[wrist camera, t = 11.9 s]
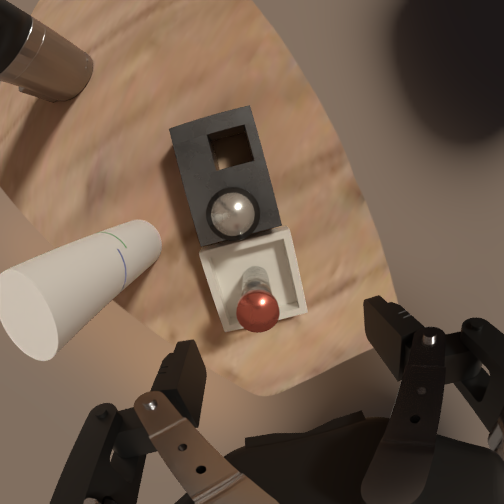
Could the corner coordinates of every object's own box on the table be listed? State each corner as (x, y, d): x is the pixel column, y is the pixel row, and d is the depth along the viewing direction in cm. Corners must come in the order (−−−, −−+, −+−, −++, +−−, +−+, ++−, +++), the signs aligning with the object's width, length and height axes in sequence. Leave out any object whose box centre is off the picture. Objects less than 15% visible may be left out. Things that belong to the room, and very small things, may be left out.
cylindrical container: (130, 274, 39) (26, 366, 15) (110, 231, 38) (-15, 287, 13) (169, 257, 39) (75, 352, 14) (149, 211, 37) (24, 253, 13)
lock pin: (244, 296, 39) (242, 336, 28) (236, 267, 38) (231, 299, 27) (274, 288, 39) (283, 326, 28) (267, 259, 38) (274, 289, 27)
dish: (226, 322, 41) (224, 332, 38) (202, 247, 38) (198, 252, 36) (303, 303, 41) (307, 312, 38) (286, 225, 38) (289, 229, 35)
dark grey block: (206, 238, 38) (196, 252, 30) (178, 135, 35) (161, 123, 27) (277, 220, 38) (285, 229, 30) (249, 115, 34) (249, 97, 26)
